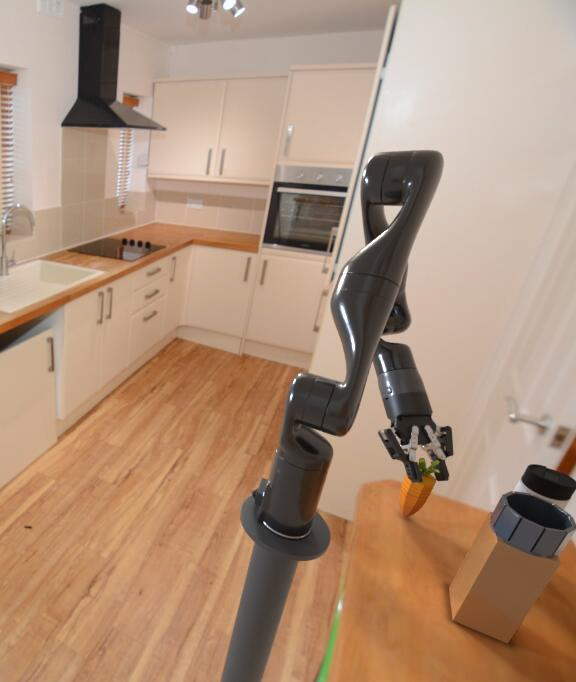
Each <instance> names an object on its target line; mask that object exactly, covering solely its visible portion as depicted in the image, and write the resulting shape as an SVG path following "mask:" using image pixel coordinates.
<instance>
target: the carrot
mask: <svg viewBox="0 0 576 682" xmlns="http://www.w3.org/2000/svg"><path fill="white" fill-rule="evenodd" d="M432 462H433V461H432ZM439 463H440V462H439V461H437V460H436V461H434V462H433V463H432V464H431V463H430V465H429V466H427V462H426V460H425V458H424V457H420V458H418V465H419V469H420V472H421V475H422V479H423V481H422V482H416V483H412V482H411V480H409V478H408V477H407V473H406V472H405V475H404V477H403V479H402V483H401V486H400V489H399V497H398V505H399V510H400V513H401V515H402V516H403V517H404V518H409V517H411V516H414V515H415V514H416V513H418V512H419V511H420V510H422V508H423V506H424V505H425V504H426V503H427V501H428V499H429V498H430V495H431V493H432V492H433V489H434V487H435V485H436V483H437V480H436V478H435V476H434V475H432V474H434V473H435V472H436V473H439V470H437V469H433V468H434V467H435V466H436V465H437V464H439Z"/></svg>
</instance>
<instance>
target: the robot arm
mask: <svg viewBox="0 0 576 682" xmlns="http://www.w3.org/2000/svg"><path fill="white" fill-rule="evenodd" d="M444 167H445V159H444V155H443V154H442V152H440V151H439V150H435V149H412V150H397V151H396V150H391V151H390V150H389V151H381V152H375V153H374V154H372V155H371V156H370V157H369V159H368V160H367V162H366V164H365V165H364V168H363V171H362V174H361V178H360V179H361V180H360V190H359V191H360V208H361V218H362V219H361V220H362V230H363V238H364V246H363V247H362V248H361V249H359V250H358V251H357V252H356V253H355V254H353V256H351V258H349V259H348V260H347V261H346V262H345V264H344V265H343V266H342V268H341V269H340V272H339V273H338V274H339V275H338V278H337V280H336V283H335V286H334V288H333V291H332V294H331V297H330V300H329V308H330V313H331V316H332V319H333V323H334V327H335V328H336V332H337V334H338V336H339V340H340V342H341V345H342V346H341V347H342V350H343V354H344V359H345V371H346V373H345V379H344V381H341V380H336V379H334V378H329V377H326V376H323V375H319V374H316V373H312V372H308V371H300V372H298V373H297V374H294V377H293V378H292V379H291V381H290V383H289V386H288V388H287V392H286V394H285V395H286V396H285V400H284V406H283V413H282V418H281V425H280V429H279V433H278V437H277V442H276V446H275V450H274V454H273V459H272V463H271V468H270V471H269V476H268V479H267V478H264V477H261V479H260V482H259V484H258V487H257V488H255V489H254V490H252V491H251V495H252V496H253V498H254V499H255V501H254V503H255V504H257V505H260V506H261V508H260V512H259V516H258V520H257V522H259V523H261V524H263V525H264V526H265V527H266V528H267V529H268V530H269V531H270V532H271V533H273V534H275V535H276V536H278V537H281V538H284V539H287V540H302V539H304V538H306V537H307V536H308V535H309V533H310V530H311V526H312V522H313V519H314V516H315V513H316V511H317V509H318V505H319V502H320V499H321V496H322V493H323V490H324V487H325V484H326V481H327V477H328V474H329V471H330V467H331V464H332V461H333V458H334V447H333V445H332V444H331V442H330V441H329V440H328V439H327V437H325V436H324V435H322V434H321V433H320V432H322V433H324V434H328V435H331V436H333V437H337V438H343V437H346V436H347V435H348V434H349V432H350V431H351V429H352V427H353V426H354V423H355V422H356V419H357V416H358V414H359V410H360V406H361V403H362V400H363V395H364V392H365V389H366V385H367V381H368V378H369V375H370V371H371V367H372V365H373V367H374V372H375V375H376V379H377V385H378V390H379V394H380V397H381V400H382V404H383V407H384V411H385V415H386V418H387V419H388V420H390V425H389V427H388V428H384V429H379V430H378V431H377V435H378V437H379V438H380V441H381V442H382V444H383V445H384V447H385V449H386V452H387V453H388V455H389V456H390V458H391V460H397V461H400V462H401V463H403V466H404V469H405V474H406V473H407V477H408V478H409V480H411V482H412V483H416V482H422V481H423V479H422V475H421V472H420V469H419V461H416V459H417V455H416V453H417V450H418V448H419V447H420V448H421V450H422V451H424V452H425V453H426V455H427V457H428V458H429V459H430V460H431V461H430V465H431V464H432V463H433V462H434V461H436V460H437V461H439V462H440V463H439V464H437V465H436V466H435V467H434V468H433V469H437V470H439V473H436V472H435V473H433V474H434V475H433V476H434V478H435V479H436V482H448V481H449V480H450V472H449V469H448V467H447V464H446V463H447V462H446V459H448V458H449V457H453V456H454V453H455V452H454V439H453V429H452V426H450V425H445V426H442V425H438V424H437V423H436V422H435V421H434V419H433V418H432V417H433V416H432V415H433V413H434V411H433V408H432V405H431V401H430V399H429V396H428V392H427V390H426V386H425V383H424V380H423V378H422V376H421V374H420V372H419V370H418V367H417V364H416V361H415V358H414V353H413V352H412V349H411V347H410V345H408V344H406V343H402V342H393V341H392V342H391V341H386V340H384V339H383V338H382V337H387V336H393V335H400V334H402V333H405V332H406V331H407V330H408V329H409V328H410V327H411V325H412V318H413V317H412V313H411V311H410V307H409V304H408V299H407V293H406V292H407V291H406V289H407V288H406V287H407V281H408V274H409V273H408V272H409V259H410V256H411V252H412V250H413V247H414V245H415V241H416V239H417V236H418V234H419V232H420V229H421V227H422V225H423V222H424V220H425V217H426V215H427V213H428V211H429V209H430V207H431V205H432V202H433V199H434V197H435V195H436V192H437V190H438V188H439V185H440V182H441V179H442V175H443V171H444ZM385 207H401V208H400V209H399V211H398V213H397V214H396V216H395V217H394V219H393V220H392V221H391V223H390V224H389V222H388V219H387V218H386V217H387V216H386V213H385Z"/></svg>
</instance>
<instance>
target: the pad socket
mask: <svg viewBox="0 0 576 682" xmlns="http://www.w3.org/2000/svg"><path fill="white" fill-rule="evenodd" d="M575 533H576V520H575V519H574V517H573V516H572V515H571V514H570V513H568V511H566V510H565V509H564V510H563V509H562V508H560V507H559V506H558V505H556V504H553V502H550V501H548V500H546V499H543V498H541V497H538V496H536V495H534V494H533V495H531V494H530V493H524V492H517V491H514V490H510V491H507V492H506V493H503V494H502V495H501V496H500V499H499V500H498V501H497V504H496V506H495V508H494V510H493V511H489V512H488V514H487V516H486V518H485V520H484V521H483V524H482V525H481V527H480V529H479V531H478V533H477V534H476V536H475V538H474V540H473V542H472V544H471V546H470V548H469V550H468V552H467V553H466V555H465V557H464V559H463V561H462V563H461V565H460V567H459V568H458V570H457V572H456V574H455V576H454V578H453V579H452V581H451V583H450V585H449V587H448V593H449V602H450V610H451V619H452V621H453V622H455V623H458V624H461V625H462V626H465V627H467V628H470V629H472V630H474V631H476V632H478V633H481V634H484V635H486V636H488V637H491V638H494V639H495V640H497V641H500V642H502V643H504V644H509V642H510V641H511V639H512V638H513V636H514V635H515V634H516V632H517V630H518V629H519V627H520V626H521V625H522V623H523V621H524V620H525V619H526V617H527V616H528V615H529V613H530V611H531V609H532V608H533V607H534V605H535V603H536V602H537V601H538V599H539V597H540V596H541V594H542V593H543V592H544V590H545V589H546V587H547V586H548V584H549V582H550V581H551V580H552V578H553V577H554V575H555V574H556V572H557V571H558V569H559V568H560V566H561V565H562V561H561V559H560V557H559V555H560V553H562V552H563V551H564V550H565V548H566V547H567V545H568V544H569V542H570V540H571V539H572V537H573V536H574V534H575Z"/></svg>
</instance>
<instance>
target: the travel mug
mask: <svg viewBox="0 0 576 682" xmlns="http://www.w3.org/2000/svg"><path fill="white" fill-rule="evenodd" d="M513 491H517V492H524V493H530V494H531V495H533V494H534V495H536V496H538V497H541V498H543V499H546V500H548V501H550V502H553V504H556V505H558V506H559V507H560V508H562V509H563V510H564V511H565V509H566V507H567V506H568V504H569V502H570V501H571V499H572V497H573V495H574V494H575V492H576V479H574V478H573V477H571V476H570V475H568V474H566V473H564V472H559V471H557V470H555V469H552V468H549V467H547V466H545V465H541V464H537V463H531V464H528V465H527V466H526V469H525V470H524V472H523V474H522V476H520V478H519V480H518V482H517V484H516V486H515V487H514V489H513Z"/></svg>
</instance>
